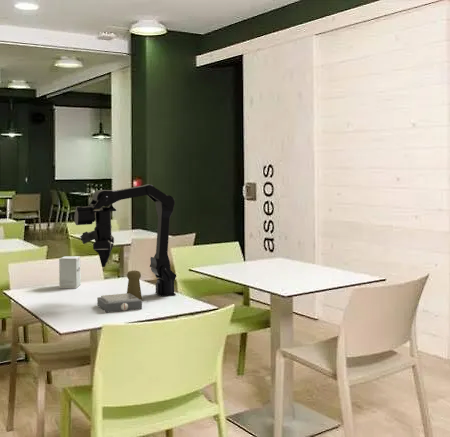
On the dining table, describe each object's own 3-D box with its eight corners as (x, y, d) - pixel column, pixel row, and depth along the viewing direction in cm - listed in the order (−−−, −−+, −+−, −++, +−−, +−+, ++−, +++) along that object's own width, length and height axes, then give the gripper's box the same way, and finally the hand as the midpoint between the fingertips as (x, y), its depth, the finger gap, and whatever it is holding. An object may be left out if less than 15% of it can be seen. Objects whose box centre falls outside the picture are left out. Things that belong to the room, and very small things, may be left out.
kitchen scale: (131, 302, 232) (131, 292, 231) (142, 309, 220) (142, 298, 220) (97, 305, 226) (97, 295, 225) (106, 313, 215) (106, 302, 214)
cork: (138, 301, 234) (138, 272, 233) (123, 300, 235) (123, 271, 234) (144, 297, 239) (143, 269, 238) (129, 297, 241) (129, 269, 240)
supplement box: (76, 288, 256) (76, 258, 255) (59, 288, 256) (58, 258, 255) (81, 285, 264) (80, 256, 263) (63, 285, 264) (63, 255, 263)
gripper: (84, 221, 240) (86, 261, 242) (78, 226, 222) (79, 269, 223) (113, 220, 241) (114, 260, 243) (109, 226, 223) (111, 268, 224)
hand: (104, 264), depth 233 cm, fingers open, 9 cm apart
